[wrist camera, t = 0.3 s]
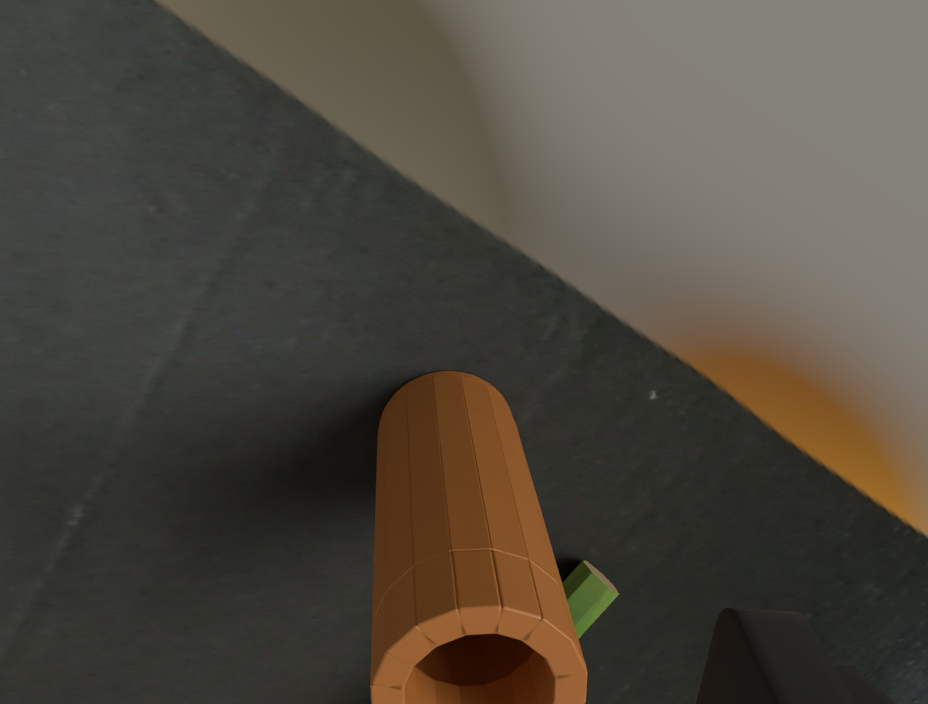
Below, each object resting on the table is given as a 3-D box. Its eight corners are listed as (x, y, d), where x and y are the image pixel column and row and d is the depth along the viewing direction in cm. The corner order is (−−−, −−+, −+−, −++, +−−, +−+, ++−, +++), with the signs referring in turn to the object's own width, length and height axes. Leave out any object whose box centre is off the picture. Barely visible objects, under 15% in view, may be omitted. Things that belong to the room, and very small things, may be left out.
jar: (350, 436, 36) (325, 705, 23) (444, 343, 35) (479, 568, 21) (448, 513, 38) (480, 806, 24) (541, 428, 37) (630, 685, 23)
